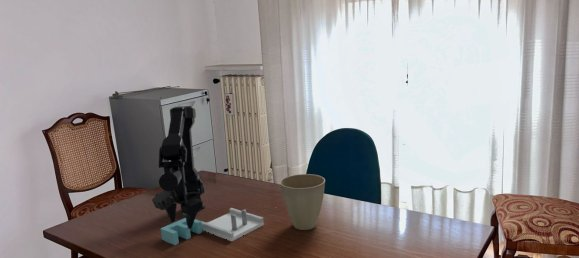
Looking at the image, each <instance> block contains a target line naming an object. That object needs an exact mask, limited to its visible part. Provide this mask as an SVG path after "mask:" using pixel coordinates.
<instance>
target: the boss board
mask: <svg viewBox="0 0 579 258" xmlns="http://www.w3.org/2000/svg"><path fill="white" fill-rule="evenodd" d="M200 221H201V223H202V232H205V231H206V233H208V232H209V234H211V235H213V234H214V236H216V237H219V238H221V239H225V240H226V239H227V241H229V242H234V241H236V240H238V239H239V238H241V237H243V235H244V236H245V235H247V234H250V233H252V232H253V231H255V230H257V229H258V228H261V227H263V226H264V225H265V224H264V223H265V222H264V217H263V216H259V215H256V214H253V213H249V212H247V209H241V210H239V209H236V208H233V207H230V208H229V212H228V213H226V214H223V215H221V216H219V217H217V218H215V219H213V220H210V221H207V222H205V221H203V220H200Z"/></svg>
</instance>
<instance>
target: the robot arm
mask: <svg viewBox="0 0 579 258" xmlns="http://www.w3.org/2000/svg"><path fill="white" fill-rule="evenodd" d="M169 116H170V121H169V126H168V132H167V136H166V137H165V138H164V139H163V140H162V142H161V146H160V147H159V151H158V168H160V169H161V168H163V172H162V173H161V175H160V176H159V180H158V184H159V187H160V188H161V189H162V191H159V192H157V193H156V194H155V196H154V197H153V198H151V201H152V203H153V205H154V207H155V209H159V210H161V211H166V212H165V213H166V214H167V216H168V218H169V220H170V222H171V223H175V222H176V214H177V205H178V204H179V205H180V210H181V214H183V215H184V216H185V218H186V222H187V226H188V229H190V228H192V225H193V223H194V220H195V219H196V217H197V215H198V213H199V211H200V210H203V209H205V208H206V206H205V205H204V201H203V200H202V198H201V195H203V194H205V186H204V182H203V181H202V178H200V177H201V176H200V173H199V172H198V171H197V169H196V168H195V160H194V158H195V157H194V150H193V149H194V148H193V138H192V137H193V136H192V128H193V126H194V124H195V118H196V117H197V114H196V109H195V108H194V107H193V106H192V105H185V106H181V105H180V106H174V107H171V108H170V109H169Z"/></svg>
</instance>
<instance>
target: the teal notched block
mask: <svg viewBox="0 0 579 258" xmlns="http://www.w3.org/2000/svg"><path fill="white" fill-rule="evenodd" d="M201 221H202V220H199V219H196V218H195V220H194V223H193V225H192V228H190V229H188V226H187V222H186V217H185V218H182V219H179V220H177V221H174V222H171V223H170V224H168V225H166V226H163V227H161V228H160V234H161V240H162V241H164V242H166V243H168V244H171V245H174V246H176V245H178V244H180V241H179V238H183V239H185V240H188V239H191V238H192V236H191V232H192V233H195V234H197V235H199V234H202V233H203V230H202V223H201Z"/></svg>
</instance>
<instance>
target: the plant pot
mask: <svg viewBox="0 0 579 258" xmlns="http://www.w3.org/2000/svg"><path fill="white" fill-rule="evenodd" d="M279 184H280V189H281V193H282V197H283V202H284V203H285V208H286V211H287V213H288V216H289V218H290V221H291V223H292V225H293V228H295V229H297V230H301V231H307V230H312V229H315V227H317V226H316V225H317V223H318V220H319V216H320V213H321V209H322V205H323V200H324V194H325V185H326V179H325V177H323V176H321V175H318V174H310V173H303V174H302V173H300V174H293V175H289V176H285V177H284V178H281V180H280V181H279Z"/></svg>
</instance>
